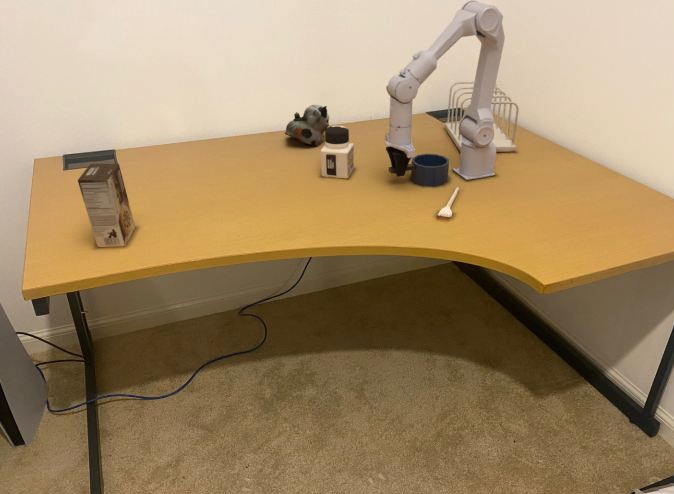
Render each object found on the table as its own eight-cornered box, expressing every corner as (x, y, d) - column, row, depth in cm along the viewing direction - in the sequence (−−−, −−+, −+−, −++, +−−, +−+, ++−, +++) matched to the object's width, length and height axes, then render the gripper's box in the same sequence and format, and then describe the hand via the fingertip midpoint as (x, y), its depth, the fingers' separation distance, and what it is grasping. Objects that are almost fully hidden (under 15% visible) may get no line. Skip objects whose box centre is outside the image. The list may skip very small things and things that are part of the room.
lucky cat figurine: (286, 134, 190) (302, 94, 187) (319, 149, 192) (336, 110, 188) (279, 135, 176) (297, 92, 172) (315, 152, 177) (333, 109, 174)
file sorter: (515, 152, 177) (523, 101, 168) (460, 154, 175) (465, 102, 167) (493, 126, 198) (499, 80, 189) (444, 128, 196) (447, 81, 188)
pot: (436, 170, 165) (438, 151, 162) (454, 183, 157) (455, 164, 154) (381, 179, 159) (382, 160, 156) (397, 193, 151) (398, 173, 148)
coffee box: (108, 228, 134) (90, 163, 125) (136, 227, 135) (120, 162, 126) (96, 247, 126) (75, 179, 118) (125, 246, 127) (107, 178, 118)
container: (347, 179, 159) (347, 133, 152) (321, 176, 160) (319, 131, 153) (354, 168, 165) (353, 124, 158) (328, 166, 167) (326, 122, 159)
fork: (464, 190, 153) (464, 184, 152) (447, 223, 137) (448, 216, 136) (451, 189, 153) (452, 182, 152) (434, 221, 138) (435, 214, 137)
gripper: (375, 118, 151) (374, 167, 159) (398, 135, 140) (396, 186, 148) (399, 115, 154) (397, 163, 161) (423, 131, 142) (421, 182, 150)
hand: (398, 174), depth 155 cm, fingers closed on pot, 2 cm apart
